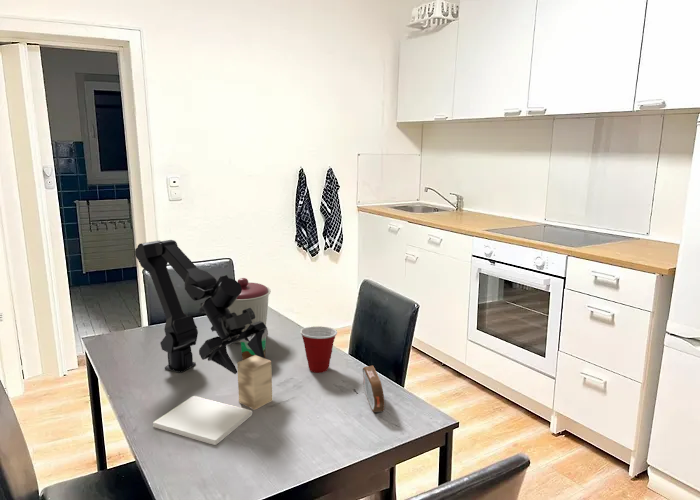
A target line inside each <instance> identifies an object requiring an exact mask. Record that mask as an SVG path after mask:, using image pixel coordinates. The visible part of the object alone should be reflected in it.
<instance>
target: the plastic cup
mask: <svg viewBox="0 0 700 500" xmlns="http://www.w3.org/2000/svg"><path fill="white" fill-rule="evenodd" d="M299 331H300V335H301V338H302V340H303V341H302V343H303V346H304V350H305V357H306V361H307V365H308V366H307V367H308V370H309V371H310V372H311V373H315V374H318V373H319V374H321V373H326V372H328V370H329V368H330V364H331V363H330V362H331V358H332V353H333V347H334V342H335V339H336V336H337V335H338V331H337V330H336V329H334V328H332V327H328V326H322V325H321V326H319V325H318V326H307V327H304V328H301V329H300V330H299Z"/></svg>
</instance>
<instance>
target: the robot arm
mask: <svg viewBox="0 0 700 500" xmlns="http://www.w3.org/2000/svg"><path fill="white" fill-rule="evenodd" d="M134 255H135V258H136V259H137V261H138V262H139V264H140V266H141V268H143V269H144V270H145V271H146V272H147V273H149V274H150V275H149V276H150V278H151V281H152V283H153V286H154V288H155V290H156V294H157V296H158V299H159V302H160V304H161V307H162V310H163V313H164V316H165V317H166V318H165V319H166V320H165V325H164V328H163V329H164V333H165V336H164V337H162V340H161V341H160V347H161V350H162V351H164V352H166V353H167V362H168V365H166V366H164V369H165V370H168V371H173V372H177V373H184V371H187V370H188V369H190V368H192V367H194V366H196V364H197V363H196V362H195V361H194V360H193V352H192V346H195V345H197V341H198V340H197V339H198V336H199V334H198V333H199V330H198V327H197V324H196V322H195V319H194V317H193V316H192V315H187V314H186V313H185V312H184V310H183V308H182V305H181V303H180V299H179V297H178V295H177V292H176V289H175V286H174V284H173V280H172V279H171V275H170V272H169V270H168V268H167V266H168V264H169V266H170V267H171V268H172V269H173V270H174V271H175V273H176V274H177V275H178V276H179V277H180V278H181V279H182V280H183V282H184V290H185V292H186V293H187V294H188V296H189V297H190V298H191V300H192V301H196V302H197V301H200V300H204V302H201V303H200V304H199V310H198V311H199V314H205V315H206V317H207V319H208V320H209V322H210V323H211V328H210V330H211V332H216V334H217V335H218V336H215V337H211V338H209V339H206V340H205V341H204V343H203V344H202V345H200V346H201V347H200V348H199V350H198V354H199V356H200V358H201V360H203V361H205V360H206V359H207V361H208V362H209V361H211V362H213V363H216V364H217V365H220V366H221V367H223V368H224V369H226V370H228V371H229V372H231V373H232V374H234V375H236V374H238V368H237V367H236V366H235V364H234V362H233V360H232V358H231V357H230V355H229V354H228V350H227V346H229V345H232V344H236V343H235V342H237V341H240V340H242V339H245V340H246V341H248V344H247V345H248V346H249V347H250V348H251V350H252V351H253V352H254V353H255V355H257V356H259V357H262V358H265V359H266V356H265V357H264V352H263V347H262V335H263V334H264V333H265V330H266V329H267V330H268V327H267V324H266V325H265V324H264V322H261V321H259V322H256V323H253V324H252V320H253V319H255V314H254V312H253V310H252V309H251V308H248V309H245V310H243V311H242V314H240V315H236V313H234V312H233V313H231V312H230V310H229V309H228V307H230V306H231V305H232V304H233V302H234V301H235V300H236V299H237V297H238V296H239V295H240V294H241V291H242V288H241V285H240V284H239V283H238V280H235V279H233V278H232V277H231V278H230V277H229V276H228V274H224V275H221V276H219V278H218V279H216V278H215V276H214V275H212V274H210V273H209V272H208V271H206V270H202V269H200V268H198V267H197V266H196V265H195V263H193V261H192V260H191V259H190V258H189V257H188V256H187V255H186V253H184V252H183V250H182V249H181V248H180V247H179V245H178V243H177V241H176V240H173V239H169V240H168V239H165V240H162V241H161V240H154V241H148V242H142V243H138V244H137V247H136V248H135V249H134ZM247 324H250V326H249V327H248V328H247V329H246V330H245V331H243V332H242V330H243V329H244V328H245V327H246V326H245V325H247ZM237 337H238V338H237Z"/></svg>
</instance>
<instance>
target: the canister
mask: <svg viewBox="0 0 700 500" xmlns="http://www.w3.org/2000/svg"><path fill="white" fill-rule="evenodd" d="M237 282H238V283H239V284H240V285H241V288H242V291H241V294H240V295H239V296H238V297H237V299H236V300H235V301H234V302H233V304H232V305H231V306H230V307H228V309H229V310H230V312H231V313H233V312H234V313H236V315H240V314H242V311H243V310H245V309H248V308H251V309H252V310H253V312H254V314H255V319H253V320H252V324H253V323H255V322H259V321H261V322H264V324H265V325H266V326H267V319H268V307H269V296H270V294H271V289H270V288H269V287H267V286H266V285H264V284H262V283H258V282H249V280H248V278H246V277H240V278H239V279H238V280H237ZM245 326H246V327H245V328H244V329H243V330H242V332H243V331H245V330H246V329H247V328H248V327H249V326H250V324H247V325H245ZM237 338H238V337H237ZM236 343H237V344H241V342H240V341H237V342H235V343H234V344H236Z"/></svg>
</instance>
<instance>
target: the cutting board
mask: <svg viewBox="0 0 700 500" xmlns="http://www.w3.org/2000/svg"><path fill="white" fill-rule="evenodd" d="M251 416H253V409H248V408H245V407H240V406H235V405H231V404H227V403H224V402H219V401H215V400H212V399H208V398H204V397H200V396H197V395H193V396H190V397H189V398H188V399H186V400H185V401H183V402H181V403H180V404H178V405H176V407H174V408H173V409H171V410H169V411H168V412H167V413H165V414H164V415H161V416H160V417H159V418H157V419H156V420H154V421H152V425H153V428H155V429H159V430H162V431H166V432H168V433H169V432H170V433H173V434H175V435H176V434H177V435H180V436H183V437H186V438H189V439H193V440H196V441H199V442H203V443H206V444H209V445H213V446H217V445H218V444H219V443H220V442H221V441H223V440H224V439H225V438H226V437H228V435H230V434H231V433H232V432H234V431H235V430H236V429H237V428H239V427H240V426H241V425H242V424H243V423H244V422H246V421H247V420H248V419H249V418H250V417H251Z"/></svg>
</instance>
